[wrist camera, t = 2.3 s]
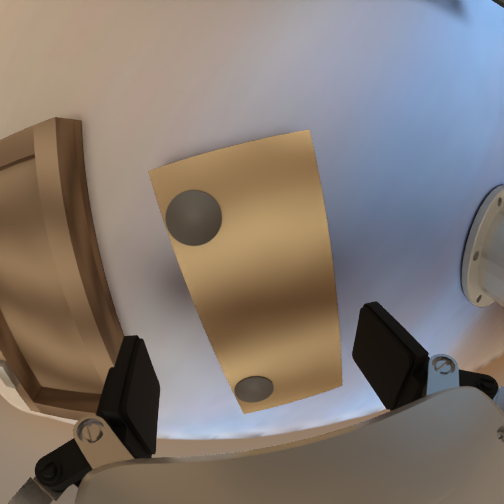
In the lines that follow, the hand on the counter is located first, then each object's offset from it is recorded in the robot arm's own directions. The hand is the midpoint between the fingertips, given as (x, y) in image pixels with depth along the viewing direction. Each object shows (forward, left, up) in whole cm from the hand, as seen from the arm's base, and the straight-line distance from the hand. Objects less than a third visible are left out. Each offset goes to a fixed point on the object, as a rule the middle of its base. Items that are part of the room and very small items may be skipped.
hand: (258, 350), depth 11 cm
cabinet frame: (+15, 0, -7) cm, 16 cm away
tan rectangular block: (-1, 0, -7) cm, 7 cm away
